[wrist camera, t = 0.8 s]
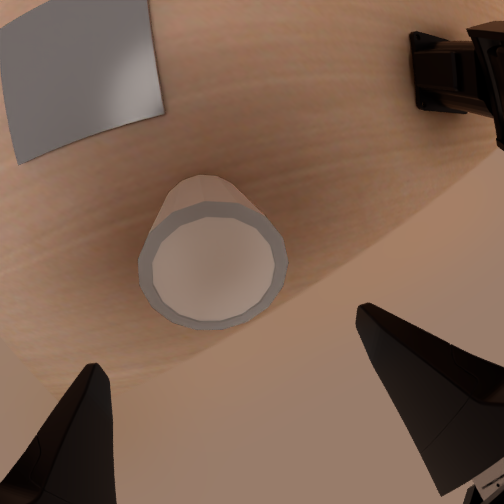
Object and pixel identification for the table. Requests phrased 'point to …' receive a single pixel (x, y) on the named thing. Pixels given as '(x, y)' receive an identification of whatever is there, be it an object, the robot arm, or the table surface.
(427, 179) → the table surface
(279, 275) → the white cup
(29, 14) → the slate plate
